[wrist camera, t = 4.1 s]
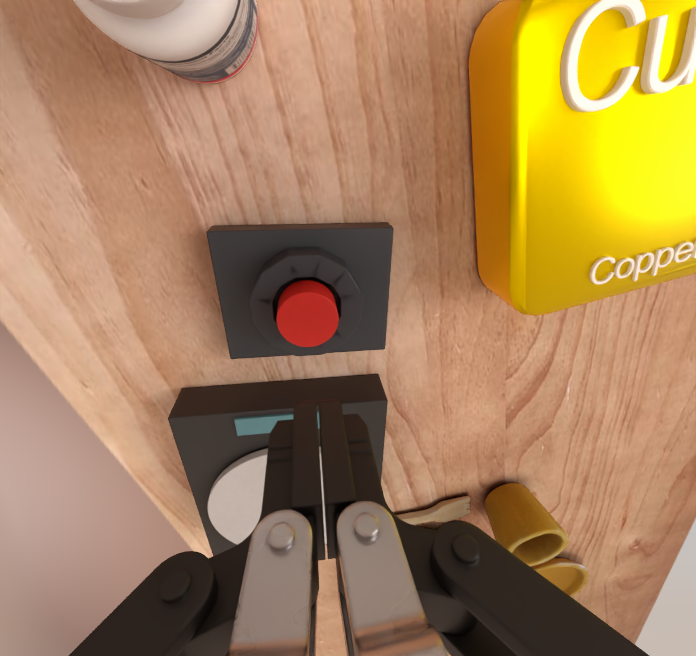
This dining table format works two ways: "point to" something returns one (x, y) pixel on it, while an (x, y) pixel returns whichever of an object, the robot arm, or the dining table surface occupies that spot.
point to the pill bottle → (182, 33)
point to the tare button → (307, 313)
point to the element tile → (583, 148)
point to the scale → (255, 442)
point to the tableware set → (518, 532)
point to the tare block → (296, 265)
